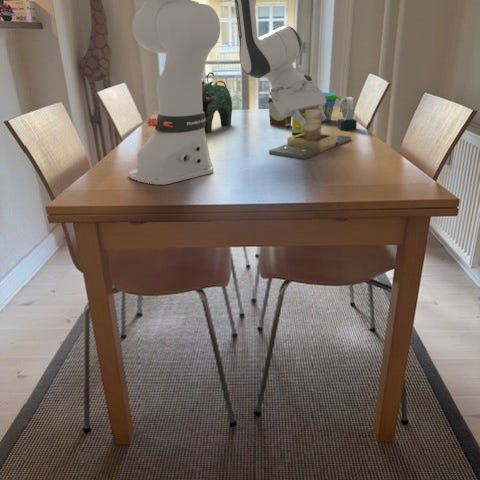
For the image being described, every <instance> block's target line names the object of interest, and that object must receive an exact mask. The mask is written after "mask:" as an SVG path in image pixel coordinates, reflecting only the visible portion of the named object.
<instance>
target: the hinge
mask: <svg viewBox="0 0 480 480" xmlns="http://www.w3.org/2000/svg"><path fill="white" fill-rule="evenodd" d="M351 141H352V136H348V135H338V134H329V133H322V132H321V140H318V141H316V140H308V139H304V133H301V134H298V135H291V136H290V137H287V141H286V142H287V143H286V144H284V145H281V146H277V147H275V148H272V149H269V150H268V154H269V155H274V156H280V157H281V156H282V157H286V158H287V157H288V158H292V159H293V158H294V159H298V160H307V159H309V158H311V157H315V156H316V155H319V154H321V153H322V152H323V151H326V150H329V149H331V148H333V147H336V146H341V145H344V144H345V143H347V142H351Z"/></svg>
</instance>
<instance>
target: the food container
mask: <svg viewBox="0 0 480 480" xmlns="http://www.w3.org/2000/svg"><path fill="white" fill-rule="evenodd" d="M267 104H268V114H269V115H268V117H269V126H273V127H277V128H281V129H289V128H292V116H289V117H282V116H281V115H280V114H279V112H278V111H277V109H276V107H275V105H274V103H273V101H272V97H271V96H270V97H268V99H267Z"/></svg>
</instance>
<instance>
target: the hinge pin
mask: <svg viewBox="0 0 480 480" xmlns="http://www.w3.org/2000/svg"><path fill="white" fill-rule="evenodd" d="M305 118H306V119H307V121H308V124H307V125H305V126H304V139H308V140H316V141H318V140H321V133H322V122H321V120H322V109H305Z"/></svg>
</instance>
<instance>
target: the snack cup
mask: <svg viewBox="0 0 480 480" xmlns="http://www.w3.org/2000/svg"><path fill="white" fill-rule="evenodd" d="M322 93H323V95H324V96H325V98H326V104H325V105H324V106H323V107H322V108H323V112H324V115H325V116H326V119H325V120H324V121H321V123H322V122H325V123H326V122H331V120H332V115H333V111H334V106H335V102H336V99H337V98H338V100H339V102H340V101H341V100H342V98H341V97H340V95H337V94H336V93H333V92H322ZM339 113H342V111H341V109H340V110H339Z"/></svg>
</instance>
